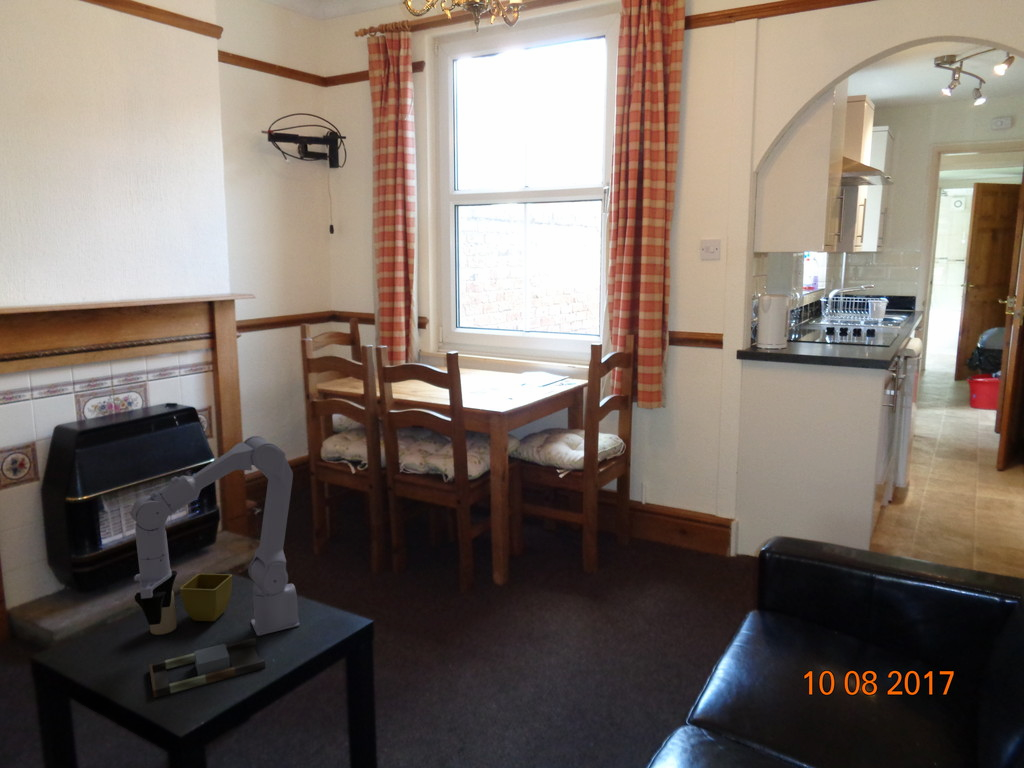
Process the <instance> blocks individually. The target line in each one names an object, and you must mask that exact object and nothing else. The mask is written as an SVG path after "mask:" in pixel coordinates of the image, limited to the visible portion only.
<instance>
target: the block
mask: <svg viewBox="0 0 1024 768" xmlns="http://www.w3.org/2000/svg"><path fill="white" fill-rule="evenodd" d="M225 645H226V644H225V643H221V644H217V645H214V646H209V647H205V648H201V649H198V650H194V651H193V653H194V654H195V662H194V663H195V668H196V672H197V676H201V675H205V674H209V673H212V672H216V671H220V670H224V669H227V668H231V663H230V660H229V654H228V652H227V649H226V646H225Z"/></svg>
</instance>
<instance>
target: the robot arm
mask: <svg viewBox="0 0 1024 768" xmlns="http://www.w3.org/2000/svg"><path fill="white" fill-rule="evenodd" d="M253 466H254V467H255V468H256V469H257V470H259V471H260V472H261V473H262V475H264V476H265V478H267V488H266V494H265V495H266V496H265V502H264V509H263V517H262V524H261V533H260V539H259V546H258V547H257V548H256V549H255V551H254V556H253V558H252V560H251V562H250V564H249V565H248V570H247V571H248V576H249V577H250V579H251V580H253V581H254V582H253V583H254V584H253V585H252V599H253V611H254V612H253V613H254V614H253V615H254V618H253V619H251V620H250V623H251V625H252V627H253V630H254V632H255V635H256V636H258V637H260V636H263V635H264V636H265V635H267V634H271V633H275V632H279V631H283V630H286V629H291V628H295V627H299V626H300V622H299V621H300V620H299V606H298V597H297V590H296V586H295V585H294V584H293V583H288V582H289V574H288V570H287V559H286V556H285V555H286V554H285V553H284V552H285V551H284V544H285V538H286V531H287V523H288V515H289V510H290V509H289V508H290V502H291V493H292V485H293V479H294V478H293V477H294V472H293V470H292V468H291V466H290V463H289V462H288V460H287V458H286V453H285V452H284V451H283V450H282V449H281V448H280V447H279V446H278V445H276V444H274V443H272V442H270V441H268V440H266V439H265V438H264V437H262V436H257V435H254V436H250V437H247V438H246V439H245V440H244V441H241V442H238V443H236V444H235V445H234V446H232V448H231V449H230V450H228V451H226V452H225V453H224V454H222V455H220V456H219V457H218V458H216V459H215V460H214V461H212V462H210V463H209V464H208V465H206V466H205V467H203V468H202V469H201V470H199V471H197V472H196V473H194V474H193V475H191V476H190V475H189V476H188V475H181V476H179V477H178V476H174V477H172V478H171V479H170V481H171V482H169V483H168V484H166V485H165V486H163V487H161V488H160V489H159V490H156V491H154V490H153V491H151V492H150V493H149V495H150V496H149V495H148V496H142V497H141V498H138V499H137V500H135V502H134V503H133V505H132V507H131V510H130V512H129V513H130V517H131V518H132V520H134V522H135V523H134V525H135V526H134V527H135V528H134V529H135V540H136V541H135V542H136V549H137V550H136V551H137V560H138V569H139V573H137V574H136V575H134V577H133V581H134V582H136V581H137V582H138V581H139V583H140V590H139V591H140V592H136V594H135V595H134V602H135V603H137V604H138V605H139V607H140V608H141V610H142V611H143V614H144V616H145V618H146V622H147V623H148V625H149V626H150V625H156V624H160V622H161V617H162V608H164V607H170V604H171V596H172V591H173V588H174V584H175V581H176V578H177V575H178V571H177V570H172V569H171V563H170V555H169V546H168V545H169V543H168V538H167V530H166V526H165V525H166V522H167V521H168V518H169V516H171V515H173V514H175V513H176V512H178V511H180V510H181V509H183V508H184V507H186V506H187V505H189V504H191V503H193V502H194V501H196V500H197V499H198V498H199V496H200V493H201V491H202V489H205V487H207V486H209V485H212V484H213V483H214V482H216V481H218V480H220V479H222V478H223V477H225V476H227V475H228V474H231V473H233V472H234V471H253V468H252V467H253Z"/></svg>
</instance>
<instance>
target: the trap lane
mask: <svg viewBox="0 0 1024 768" xmlns="http://www.w3.org/2000/svg"><path fill="white" fill-rule="evenodd" d="M225 646H226V649H227V652H228V654H229V660H230V668H227V669H224V670H220V671H216V672H212V673H209V674H205V675H201V676H198V675H197V676H194V677H191V678H186V679H183V680H179V681H175V682H172V683H170V682H169V676H168V673H167V672H168V671H167V670H168V669H169V670H170V669H172V668H173V669H174V668H176V667H179V666H180V667H181V666H185V665H188V664H192V663H195V654H194V652H193V653H188V654H186V655H185V654H184V655H181V656H177V657H174V658H173V657H172V658H170V659H169V658H168V659H165V660H161V661H158V662H154V663H149V664H148V667H149V674H150V681H151V688H152V693H153V694H152V695H153V698H154V699H155V698H158V697H162V696H166V695H170V694H173V693H177V692H178V693H179V692H181V691H184V690H188V689H191V688H196V687H199V686H203V685H206V684H210V683H213V682H217V681H221V680H224V679H228V678H233V677H236V676H239V675H243V674H247V673H251V672H255V671H259V670H262V669H266V661H265V658H262V659H260V658H259V655H258V653H257V650H256V649H255V647H257V642H256V637H252V638H248V639H244V640H241V641H237V642H233V643H229V644H225Z"/></svg>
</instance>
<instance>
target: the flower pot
mask: <svg viewBox="0 0 1024 768" xmlns="http://www.w3.org/2000/svg"><path fill="white" fill-rule="evenodd" d="M232 584H233V575H232V574H227V573H226V574H224V573H223V574H221V573H218V574H217V573H198V574H196V575H195V576H193V577H192V578H191V579H190V580H188V581H187V582H186V583H184V584H183V585H181V586H180V588H179V592H180V595H181V600H182V604H183V607H184V610H185V611H186V613H187V615H189V617H190V618H191V619H192V620H193V621H197V622H215V621H216V620H217V619H218V618H219V617H220V616H222V615H223V613H225V612H226V609H227V607H228V605H229V603H230V600H231V596H232V587H233V586H232Z"/></svg>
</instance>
